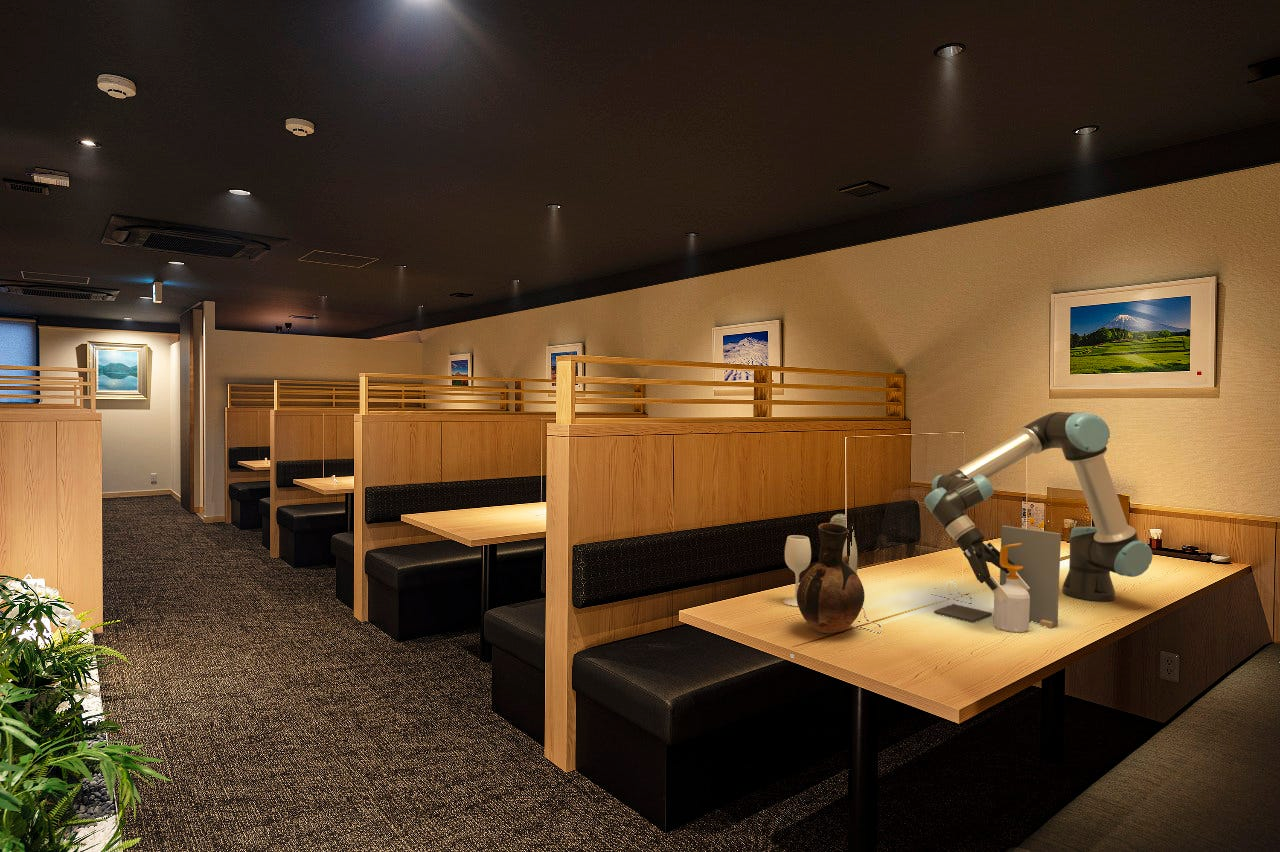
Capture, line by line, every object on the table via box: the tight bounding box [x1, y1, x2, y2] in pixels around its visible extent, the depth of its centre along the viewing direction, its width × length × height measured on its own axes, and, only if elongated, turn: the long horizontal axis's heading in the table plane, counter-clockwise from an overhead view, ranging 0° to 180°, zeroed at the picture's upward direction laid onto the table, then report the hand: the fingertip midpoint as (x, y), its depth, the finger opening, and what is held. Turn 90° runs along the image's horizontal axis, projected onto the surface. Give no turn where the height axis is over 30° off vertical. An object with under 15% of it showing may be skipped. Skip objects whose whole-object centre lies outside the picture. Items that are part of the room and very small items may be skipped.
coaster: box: [933, 603, 993, 624], centre depth 225 cm, size 12×12×1 cm
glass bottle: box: [829, 513, 858, 575], centre depth 238 cm, size 10×10×28 cm
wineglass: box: [782, 534, 812, 607], centre depth 235 cm, size 9×9×21 cm
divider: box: [999, 525, 1062, 629], centre depth 219 cm, size 5×16×27 cm, turn 40°
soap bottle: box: [992, 543, 1030, 633], centre depth 212 cm, size 9×9×25 cm
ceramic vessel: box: [797, 522, 865, 634], centre depth 207 cm, size 21×18×30 cm
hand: (1015, 594), depth 211 cm, fingers open, 13 cm apart
